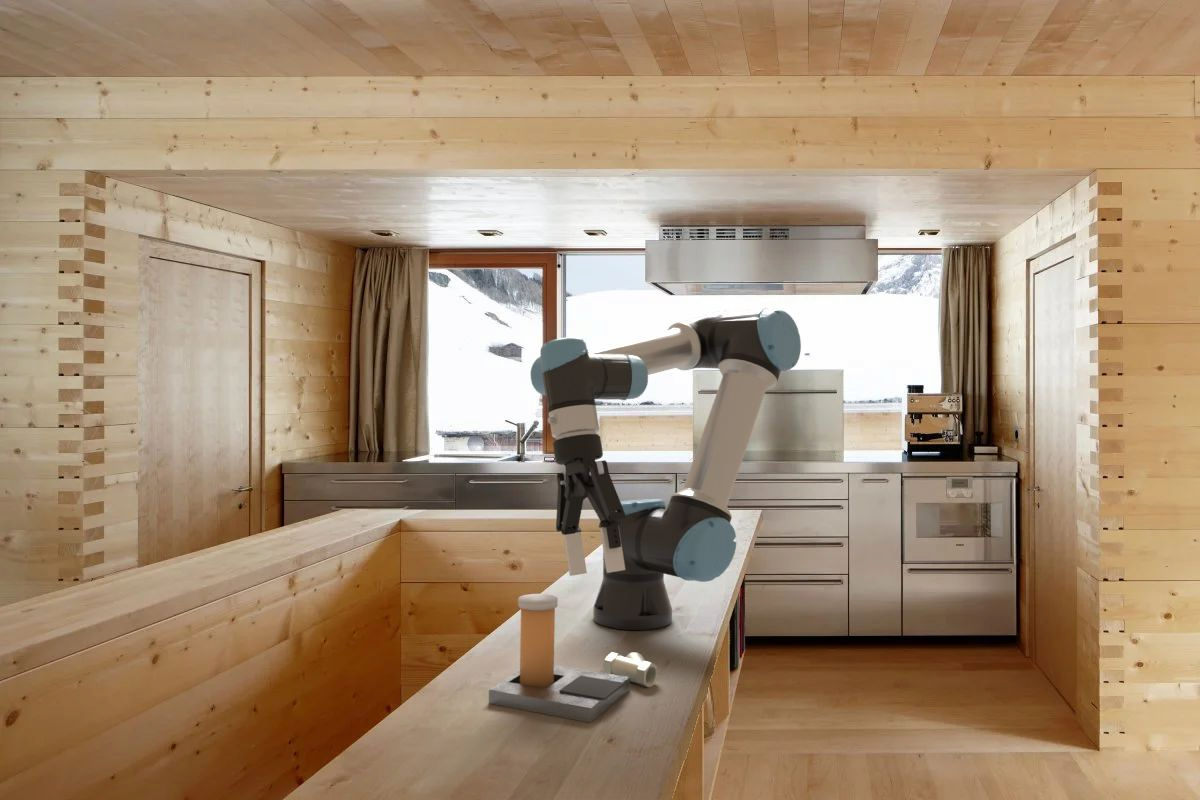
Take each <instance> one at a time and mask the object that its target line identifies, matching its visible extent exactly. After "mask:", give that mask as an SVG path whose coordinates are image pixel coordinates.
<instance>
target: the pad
mask: <svg viewBox="0 0 1200 800" xmlns="http://www.w3.org/2000/svg"><path fill="white" fill-rule="evenodd" d="M623 685H624V683H622V682H616V681H610V680H604V679H598V678H592V677H586V676H581V675H580V676H579V677H578V678H576V679H575V680H573V681H572V682H571V683H569V684H568V685H566V686H565V687H563V688H562V689H561V690H560V691H559V692H560V693H566V694H572V695H577V696H583V697H589V698H594V699H600V700H606V699H607V698H608V697H609V696H611V695H612V694H613V693H614V692H616V691H617V690H618V689H619V688H621V687H622V686H623Z"/></svg>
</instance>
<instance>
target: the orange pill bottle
mask: <svg viewBox="0 0 1200 800" xmlns="http://www.w3.org/2000/svg"><path fill="white" fill-rule="evenodd" d="M517 599H518V600H517V602H518V603H517V605H518V607H519V608H520V634H519V635H520V640H519V643H520V646H519V649H520V650H519V671H520V684H522V685H527V686H533V687H538V688H544V689H546V688H548V687H549V686H551V685H552V684H554V665H555V628H556V627H555V624H556V623H555V622H556V621H555V618H556V617H555V616H556V615H555V612H556V608H557V607H558V605H559V603H558V601H559V600H558V596H555V595H553V594H547V593H530V594H529V593H528V594H524V595H521V596H519V597H518V598H517Z"/></svg>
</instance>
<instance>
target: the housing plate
mask: <svg viewBox="0 0 1200 800" xmlns="http://www.w3.org/2000/svg"><path fill="white" fill-rule="evenodd" d="M580 675H581V676H586V677H592V678H598V679H604V680H610V681H616V682H622V683H624V685H623V686H622V687H621V688H619V689H618V690H617V691H616V692H614V693H613V694H612V695H611V696H609V697H608V698H607V699H606V700H600V699H594V698H589V697H583V696H577V695H572V694H566V693H560V692H559V691H560V690H561V689H562V688H563V687H565V686H566V685H568V684H569V683H571V682H572V681H573V680H575V679H576V678H578V677H579V676H580ZM630 682H631V681H630V677H626V676H620V675H614V674H608V673H604V672H601V671H594V670H589V669H582V668H577V667H570V666H564V665H559V664H554V684H552V685H551V686H549V687H548V688H546V689H544V688H538V687H533V686H527V685H522V684H520V670H519V671H517V672H515V673H514V674H511V675H510V676H509V677H507V678H506V679H504V680H502V681H501V682H499V683H498V684H496V685H494V686H492V687H490V688H489V689H488V704H491V705H496V706H501V707H506V708H511V709H517V710H521V711H528V712H533V713H539V714H544V715H549V716H554V717H559V718H565V719H568V720H569V719H571V720H575V721H580V722H585V723H593V721H594V720H596V719H597V718H598V717H599V716H601V714H603V713H604V712H605V711H606V710H608V709H609V708H610V707H611V706H613V705H614V704H615V703H616V702H617V701H619V700H620V699H621V698H622V697H624V696H625V695H626V694H627V693H628V692H629V691H630Z"/></svg>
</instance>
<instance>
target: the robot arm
mask: <svg viewBox="0 0 1200 800" xmlns="http://www.w3.org/2000/svg"><path fill="white" fill-rule="evenodd" d="M796 323H797V322H795V320H794V318H793V317H792V316H791V314H789V313H788V312H786V311H785V310H782V309H774V308H773V309H772V308H771V309H770V308H766V307H765V308H761V309H751V310H750V309H747V310H746V309H745V310H722V311H715V312H711V313H708V314H704V315H701V316H698V317H693V318H690V319H687V320H684V321H681V322H675V323H673V324H671V325H670V326H669V327H668V329H666V330H664V331H663V330H662V331H659V332H654V333H649V334H646V335H640V336H636V337H632V338H631V337H630V338H628V339H622V340H617V341H614V342H610V343H605V344H601V345H600V344H599V345H596V346H595V345H594V346H591V347H587V343H586V340H584V339H583V338H581V337H577V336H576V337H575V336H570V337H568V336H567V337H561V338H557V339H556V338H555V339H551V340H549V341H547V342H545V343H544V344H543V345H542V346H541V348H540V356H538V358H536V359H535V361H534V362H533V364H532V366H531V369H530V381H531V385H532V387H533V388H534V390H535V391H536V392H537V393H538V394H540V395H542V396H545V400H546V407H547V410H548V418H547V423H548V424H550V432H551V436H552V438H555V439H556V440H554V441H553V442H552V448H553V455H554V461H555V463H556V464H557V465H561V466H562V465H564V466H565V471H564V472H557V473H556V482H557V497H556V499H557V501H556V502H557V503H556V520H555V522H556V523H555V530H556V531H557V532H561V535H563V538H564V546H565V553H566V559H567V566H568V574H569V577H572V576H577V575H578V576H579V575H584V574H587V573H588V572H587V566H586V560H585V559H586V557H585V553H584V551H585V550H584V545H583V539H582V530H583V529H581V528H580V525H579V524H580V521H581V516H582V515H581V514H582V508H583V504H584V500H586V499H587V500H588V501H589V503H590V505H591V506H592V508H593V510H594V512H595V514H596V516H597V518H598V519H599V524H598V528H599V530H600V531H599V532H600V537H601V545H602V552H603V553H602V555H603V556H602V557H603V559H602V560H603V561H602V563H603V565H602V567H603V568H602V569H603V571H602V581H601V584H600V587H599V589H598V592H597V597H595V598H596V599H595V602H594V605H593V607H592V608H593V616H592V618H593V619H592V620H593V621H594V622H595V623H596V624H598V625H600V626H603V627H607V628H610V629H616V630H625V631H626V630H627V631H645V630H646V631H647V630H655V629H656V630H657V629H659V628H664V627H666V626H668V625H670V624H671V623H672V621H673V607H672V605H671V601H670V597H669V595H668V590H667V587H666V584H665V580H664V579H665V578H664V575H666V576H667V575H668V576H672V577H676V578H680V579H682V580H683V581H691V582H692V581H694V582H701V583H706V582H711V581H713V580H714V579H717V578H718V577H721V575H723V574H724V573H725V572H726V570H727V569H728V568H729V566H730V564H731V563H732V561H733V559H734V556H735V553H736V548H737V541H736V540H735V539H736V538H737V534H736V530H735V528H734V527H733V525H732V524H731V521H732V519H733V516H732V513H731V512H730V509H729V507H728V503H729V501H730V498H731V495H732V492H733V489H734V486H735V483H736V480H737V477H738V474H739V471H740V468H741V467H742V466H741V465H742V463H743V459H744V457H745V453H746V450H747V447H748V445H749V441H750V438H751V435H752V432H753V430H754V427H755V425H756V421H757V417H758V415H759V412H760V409H761V406H762V403H763V400H764V397H765V394H766V392H767V391H769V390H770V389H773V388H775V387H776V386H777V383H778V381H779V379H780V375H781V373H782V372H786V371H790V370H792V369H793V368H794V367H795V366H796V365H797V363H798V362H799V360H800V356H801V352H802V351H801V350H802V349H801V348H802V345H801V344H802V342H801V341H802V340H801V335H800V332H799V328H798V325H797V324H796ZM673 369H678V370H680V371H689V370H692V369H693V370H694V369H718V370H719V372H720V373H721V375H722V378H721V381H720V383H719V386H718V389H717V392H716V395H715V398H714V401H713V403H712V406H711V409H710V412H709V414H708V417H707V420H706V423H705V425H704V429H703V431H702V434H701V437H700V439H699V443H698V445H697V449H696V451H695V453H694V457H693V460H692V462H691V466H690V468H689V471H688V473H687V476H686V478H685V479H686V480H685V481H684V484H683V488H682V489H681V490H679V491H677V492H675V493H674V494H672V495H671V497H670V500H669V501H668V505H667V506H666V502H665V500H664V499H662V498H647V499H642V498H641V499H629V500H621V499H620V497H619V495H618V493H617V490H616V487H615V485H614V481H613V480H612V478H611V477H612V476H611V475H610V471H609V465H608V462H607V460H604V459H603V460H599V459H601V458H602V457H603V455H604V451H603V447H602V446H603V445H602V440H601V436H600V435H599V434H598V433H597V432H599V430H600V424H599V418H598V412H597V406H596V400H604V401H605V400H607V401H608V400H612V401H613V400H620V401H626V400H633V399H638V398H639V397H640V396H642V395H643V393H644V392H645V391H646V389H647V387H648V383H649V376H650V375H653V374H657V373H661V372H665V371H669V370H673ZM597 460H598V461H597Z"/></svg>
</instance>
